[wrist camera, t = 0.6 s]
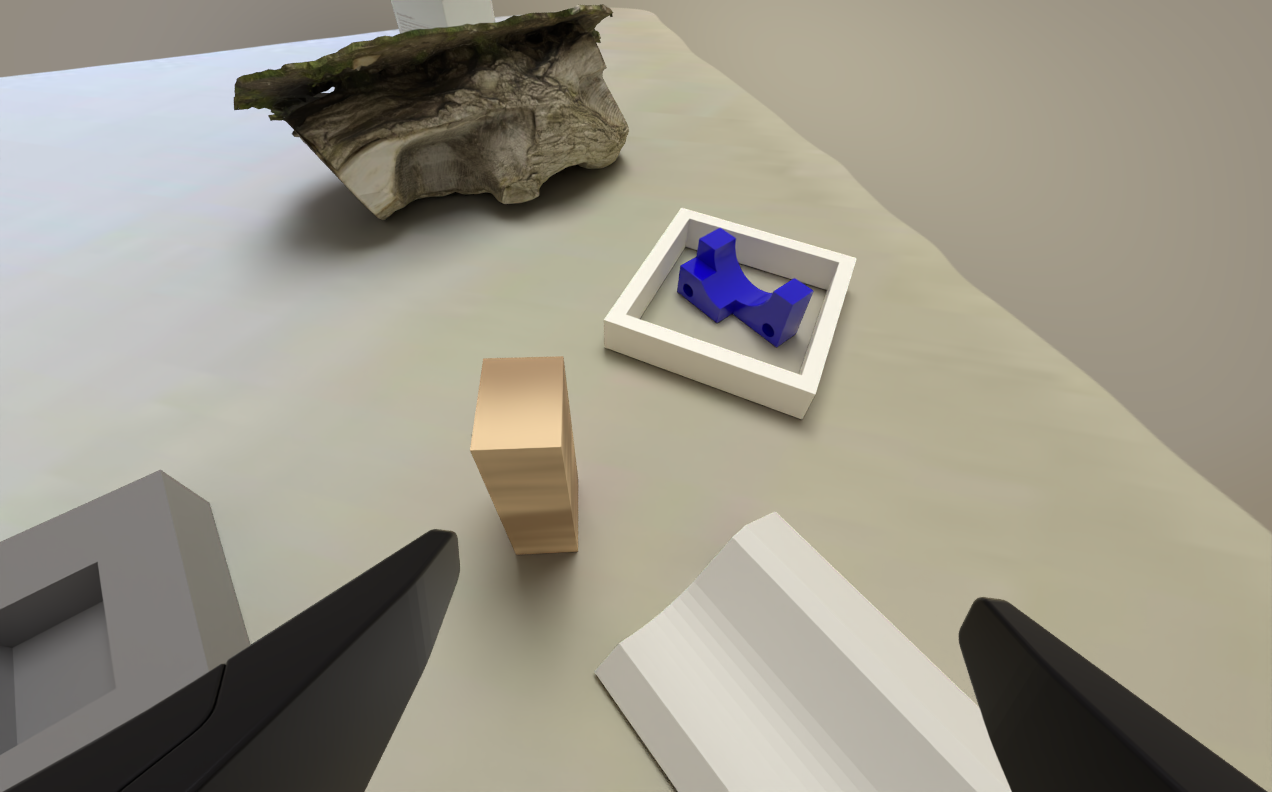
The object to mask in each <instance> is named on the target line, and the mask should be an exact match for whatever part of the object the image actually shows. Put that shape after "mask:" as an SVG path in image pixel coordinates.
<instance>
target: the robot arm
mask: <svg viewBox="0 0 1272 792" xmlns="http://www.w3.org/2000/svg"><path fill="white" fill-rule="evenodd" d="M459 573H460V560H459V549H458V538H457V535H456V533H455V532H453V531H448V530H439V529H433V530H430V531H428V532H427V533H425V534H423V535H422V536H420V537H419V538H417V539H416V540H414V541H413V542H411V543H409V544H408V545H406V546H405V547H403V548H402V549H400V550H398V551H397V552H395V553H394V554H392V555H391V556H389V557H387V558H386V559H384V560H383V561H381V562H380V563H378V564H376V565H375V566H373V567H372V568H370V569H369V570H367V571H366V572H364V573H362V574H361V575H359V576H358V577H356V578H355V579H353V580H351V581H350V582H348V583H347V584H345V585H344V586H342V587H340V588H339V589H337V590H336V591H334V592H333V593H331V594H330V595H328V596H326V597H325V598H323V599H322V600H320V601H319V602H317V603H315V604H314V605H312V606H311V607H309V608H308V609H306V610H304V611H303V612H301V613H300V614H298V615H297V616H295V617H293V618H292V619H290V620H289V621H287V622H286V623H284V624H283V625H281V626H279V627H278V628H276V629H275V630H273V631H272V632H270V633H268V634H267V635H265V636H264V637H262V638H261V639H259V640H257V641H256V642H254V643H253V644H251V645H250V646H248V647H247V648H245V649H243V650H242V651H240V652H239V653H237V654H236V655H234V656H232V657H231V658H229V659H228V660H227V662H226V664H224V663H222V664H220V665H218V666H216V667H215V668H213V669H212V670H210V671H209V672H207V673H205V674H204V675H202V676H201V677H199V678H198V679H196V680H194V681H193V682H191V683H190V684H188V685H186V686H185V687H183V688H182V689H180V690H178V691H177V692H175V693H173V694H172V695H170V696H169V697H167V698H165V699H164V700H162V701H160V702H159V703H157V704H156V705H154V706H152V707H151V708H149V709H148V710H146V711H144V712H142V713H141V714H139V715H137V716H135V717H134V718H132V719H130V720H129V721H127V722H125V723H123V724H122V725H120V726H118V727H116V728H115V729H113V730H111V731H109V732H108V733H106V734H104V735H103V736H101V737H99V738H97V739H96V740H94V741H92V742H90V743H89V744H87V745H85V746H83V747H81V748H80V749H78V750H76V751H74V752H73V753H71V754H69V755H67V756H65V757H64V758H62V759H60V760H58V761H56V762H55V763H53V764H51V765H49V766H48V767H46V768H44V769H42V770H40V771H39V772H37V773H35V774H33V775H31V776H30V777H28V778H26V779H24V780H23V781H21V782H19V783H17V784H15V785H14V786H12V787H10V788H8V789H6V790H5V791H3V792H364V791H365V789H366V787H367V785H368V783H369V781H370V779H371V777H372V775H373V773H374V771H375V769H376V767H377V765H378V763H379V761H380V759H381V757H382V755H383V753H384V751H385V749H386V747H387V745H388V743H389V740H390V738H391V736H392V734H393V732H394V730H395V728H396V726H397V724H398V722H399V720H400V718H401V716H402V714H403V712H404V710H405V708H406V706H407V704H408V702H409V700H410V698H411V696H412V694H413V692H414V690H415V688H416V685H417V683H418V681H419V679H420V677H421V675H422V673H423V671H424V669H425V666H426V664H427V662H428V659H429V657H430V654H431V652H432V649H433V646H434V644H435V641H436V638H437V635H438V633H439V630H440V627H441V625H442V622H443V619H444V616H445V614H446V611H447V608H448V605H449V603H450V600H451V597H452V595H453V592H454V589H455V586H456V584H457V581H458V577H459ZM959 644H960V648H961V651H962V654H963V658H964V661H965V664H966V667H967V670H968V673H969V676H970V680H971V683H972V686H973V689H974V692H975V695H976V699H977V702H978V705H979V708H980V711H981V714H982V718H983V721H984V724H985V727H986V729H987V732H988V735H989V738H990V741H991V743H992V746H993V748H994V751H995V753H996V756H997V758H998V761H999V763H1000V765H1001V768H1002V770H1003V773H1004V775H1005V777H1006V780H1007V782H1008V784H1009V787H1010V789H1011V791H1012V792H1267V791H1266V790H1264V789H1263V788H1262V787H1260V786H1259V785H1258V784H1256V783H1255V782H1253V781H1252V780H1251V779H1249V778H1248V777H1247V776H1245V775H1244V774H1242V773H1241V772H1240V771H1238V770H1237V769H1236V768H1234V767H1233V766H1232V765H1230V764H1229V763H1227V762H1226V761H1225V760H1223V759H1222V758H1221V757H1219V756H1218V755H1217V754H1215V753H1214V752H1212V751H1211V750H1210V749H1208V748H1207V747H1206V746H1204V745H1203V744H1201V743H1200V742H1199V741H1197V740H1196V739H1195V738H1193V737H1192V736H1191V735H1189V734H1188V733H1186V732H1185V731H1184V730H1182V729H1181V728H1180V727H1178V726H1177V725H1175V724H1174V723H1173V722H1171V721H1170V720H1169V719H1167V718H1166V717H1165V716H1163V715H1162V714H1160V713H1159V712H1158V711H1156V710H1155V709H1154V708H1152V707H1151V706H1150V705H1148V704H1147V703H1145V702H1144V701H1143V700H1141V699H1140V698H1139V697H1137V696H1136V695H1134V694H1133V693H1132V692H1130V691H1129V690H1128V689H1126V688H1125V687H1124V686H1122V685H1121V684H1119V683H1118V682H1117V681H1115V680H1114V679H1113V678H1111V677H1110V676H1109V675H1107V674H1106V673H1104V672H1103V671H1102V670H1100V669H1099V668H1098V667H1096V666H1095V665H1093V664H1092V663H1091V662H1089V661H1088V660H1087V659H1085V658H1084V657H1083V656H1081V655H1080V654H1078V653H1077V652H1076V651H1074V650H1073V649H1072V648H1070V647H1069V646H1068V645H1066V644H1065V643H1063V642H1062V641H1061V640H1059V639H1058V638H1057V637H1055V636H1054V635H1052V634H1051V633H1050V632H1048V631H1047V630H1046V629H1044V628H1043V627H1042V626H1040V625H1039V624H1037V623H1036V622H1035V621H1033V620H1032V619H1031V618H1029V617H1028V616H1027V615H1025V614H1024V613H1022V612H1021V611H1020V610H1018V609H1017V608H1016V607H1014V606H1013V605H1012V604H1010V603H1009V602H1007V601H1005V600H1001V599H994V598H986V597H980V598H977V599H976V600H975V601H974V602H973V604H972V606H971V608H970V610H969V612H968V614H967V616H966V618H965V620H964V622H963V624H962V626H961V628H960V631H959Z"/></svg>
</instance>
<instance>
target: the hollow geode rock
mask: <svg viewBox="0 0 1272 792" xmlns="http://www.w3.org/2000/svg"><path fill="white" fill-rule="evenodd" d="M612 13H613V12H612V10H611V9H610V8H607V7H606V6H605V5H588V6H587V5H578V6H576V7H574V8H571V9H567V10H563V11H560V12H550V13H529V14H525V15H521V16H512V17H510V18H508V19H506V20H505V21H501V22H497V23H478V24H474V25H473V24H464V25H460V26H452V27H437V28H433V29H415V30H410V31H407V32H404V33H401V34H398V35H395V36H393V37H391V36H382V37H377V38H376V39H374V40H371V41H361V42H353V43H351V44H350V45H348V46H346V47H344V48H342V49H340V50H339V51H338V52H336V53H333V54H329V55H326V56H323V57H321V58H319V59H318V60H316V61H310V62H302V63H290V64H285V65H283V66H282V67H281V69H277V70H270V69H268V70H265V71H262V72H256V73H253V74H249V75H243V76H241V77H239V78H237V81H236V84H235V97H234V110H242V109H249V108H251V107H254V108H257V109H262V108H267V109H270V110H271V112H272V113H274V115H268V116H269V118H270V121H272V120H284V121H286V122H287V123H288V124H289V125H290V126H291V127H292V128H293V129H294V131H293V133H292V135H293V136H294V137H300V138H301V139H302V141H303V142H304V143H305V144H307V145H308V146H309V148H310V149H311V150H312V151H313V152H314V153H315V154H316V155H317V156H318V157H319V158H320V160H321V161H322V162H323V163H325V165H326V166H327V167H328V168H329V169H330V170H331V171H332V172H333V173H334V174H335V175H336V176H337V177H338V178H339V179H340V180H341V182H342V183H343V184H344V185H345V186H346V187H347V188H348V189H349V190H350V191H351V192H352V193H353V194H354V195H355V196H356V197H357V198H358V199H359V200H360V202H361V203H362V204H363V205H364V206H365V207H366V208H367V209H368V210H369V211H371V212H372V213H373V214H374V215H375V216H376V217H377V218H378V219H379V218H380V219H381V220H385V219H387V218H388V217H389V216H391V215H392V214H393V213H394V212H395V211H396V210H399V209H401V208H403V207H405V206H406V205H407V204H409V203H410V202H412V201H414V200H416V199H420V198H426V197H435V196H445V195H448V194H451V193H453V192H458V193H461V194H468V195H469V194H480V193H485V192H488V193H492V194H493V195H494V197H495V198H496V199H497V200H498V201H499V202H501V203H504V204H512V203H522V202H525V201H529V200H532V199H534V198H536V197H538V196H539V188H540V186H541V185H542V184H543V183H544V182H545V181H547V179H548V178H549V177H550V176H552V175H554V174H555V173H557V172H559V171H561V170H563V169H564V168H566V167H568V166H573V165H577V164H578V165H579V166H581V167H584V168H587V169H600V168H604V167H606V166H608V165H610V164H612V163H613V162H615V161H616V159H617V157H618V155H619V153H620V150H621V148H622V147H623V145H624V144H625V142H626V137H627V135H628V132H629V129H628V125H627V123H626V121H625V119H624V117H623V115H622V113H621V111H620V109H619V107H618V105H617V103H616V102H615V100H614V98H613V96H612V94H611V93H610V91H609V89H608V87H607V85H606V83H605V81H604V79H603V77H602V74H603V70H604V69H606V68H607V67H606V65H605V62H604V60H603V58H602V55H601V53H600V50H599V48H598V46H597V44H596V42H598V43H601V42H600V38H601V37H600V34H599V32H598V31H595V29H594V28H595V27H596V25H597V24H598V23H600V21H601V20H603V19H604V18H606V17H607V16H609V15H610V17H613V16H612ZM331 87H335V89H334V91H333V92H331V93H321V92H324V91H327V90H329V89H330V88H331ZM238 108H239V109H238ZM284 117H285V118H284Z"/></svg>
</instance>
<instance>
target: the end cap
mask: <svg viewBox="0 0 1272 792" xmlns="http://www.w3.org/2000/svg"><path fill="white" fill-rule="evenodd" d="M248 646H250V642H249V639H248V635H247V632H246V628H245V625H244V621H243V618H242V615H241V611H240V608H239V604H238V601H237V597H236V594H235V590H234V587H233V583H232V580H231V576H230V573H229V570H228V566H227V563H226V559H225V556H224V552H223V549H222V545H221V542H220V538H219V535H218V531H217V528H216V525H215V521H214V518H213V514H212V511H211V507H210V504H209V502H207V501H206V500H204V499H203V498H201V497H200V496H198V495H197V494H196V493H194V492H193V491H191V490H190V489H188V488H187V487H185V486H184V485H182V484H181V483H179V482H178V481H176V480H175V479H173V478H172V477H170V476H169V475H167V474H166V473H164V472H163V471H162V470H159V471H157V472H154V473H152V474H150V475H148V476H145V477H143V478H141V479H139V480H137V481H134V482H132V483H130V484H128V485H126V486H123V487H121V488H119V489H117V490H114V491H112V492H110V493H108V494H106V495H103V496H101V497H99V498H97V499H95V500H92V501H90V502H88V503H86V504H83V505H81V506H79V507H77V508H75V509H72V510H70V511H68V512H66V513H64V514H61V515H59V516H57V517H55V518H52V519H50V520H48V521H46V522H44V523H41V524H39V525H37V526H35V527H33V528H30V529H28V530H26V531H24V532H22V533H19V534H17V535H15V536H13V537H10V538H8V539H6V540H4V541H2V542H0V792H3V791H5V790H6V789H8V788H10V787H12V786H14V785H15V784H17V783H19V782H21V781H23V780H24V779H26V778H28V777H30V776H31V775H33V774H35V773H37V772H39V771H40V770H42V769H44V768H46V767H48V766H49V765H51V764H53V763H55V762H56V761H58V760H60V759H62V758H64V757H65V756H67V755H69V754H71V753H73V752H74V751H76V750H78V749H80V748H81V747H83V746H85V745H87V744H89V743H90V742H92V741H94V740H96V739H97V738H99V737H101V736H103V735H104V734H106V733H108V732H109V731H111V730H113V729H115V728H116V727H118V726H120V725H122V724H123V723H125V722H127V721H129V720H130V719H132V718H134V717H135V716H137V715H139V714H141V713H142V712H144V711H146V710H148V709H149V708H151V707H152V706H154V705H156V704H157V703H159V702H160V701H162V700H164V699H165V698H167V697H169V696H170V695H172V694H173V693H175V692H177V691H178V690H180V689H182V688H183V687H185V686H186V685H188V684H190V683H191V682H193V681H194V680H196V679H198V678H199V677H201V676H202V675H204V674H205V673H207V672H209V671H210V670H212V669H213V668H215V667H216V666H218V665H220V664H222V663H224V664H226V662H227V660H228V659H229V658H231V657H232V656H234V655H236V654H237V653H239V652H240V651H242V650H243V649H245V648H247V647H248Z"/></svg>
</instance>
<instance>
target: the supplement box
mask: <svg viewBox="0 0 1272 792" xmlns="http://www.w3.org/2000/svg"><path fill="white" fill-rule="evenodd" d="M391 3H392V7H393V10H394V14H395V17H396V20H397V24H398V27H399V31H400V34H401V33H404V32H407V31H410V30H415V29H433V28H437V27H452V26H460V25H464V24H473V25H474V24H478V23H495V18H494V13H493V6H492V0H391Z"/></svg>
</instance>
